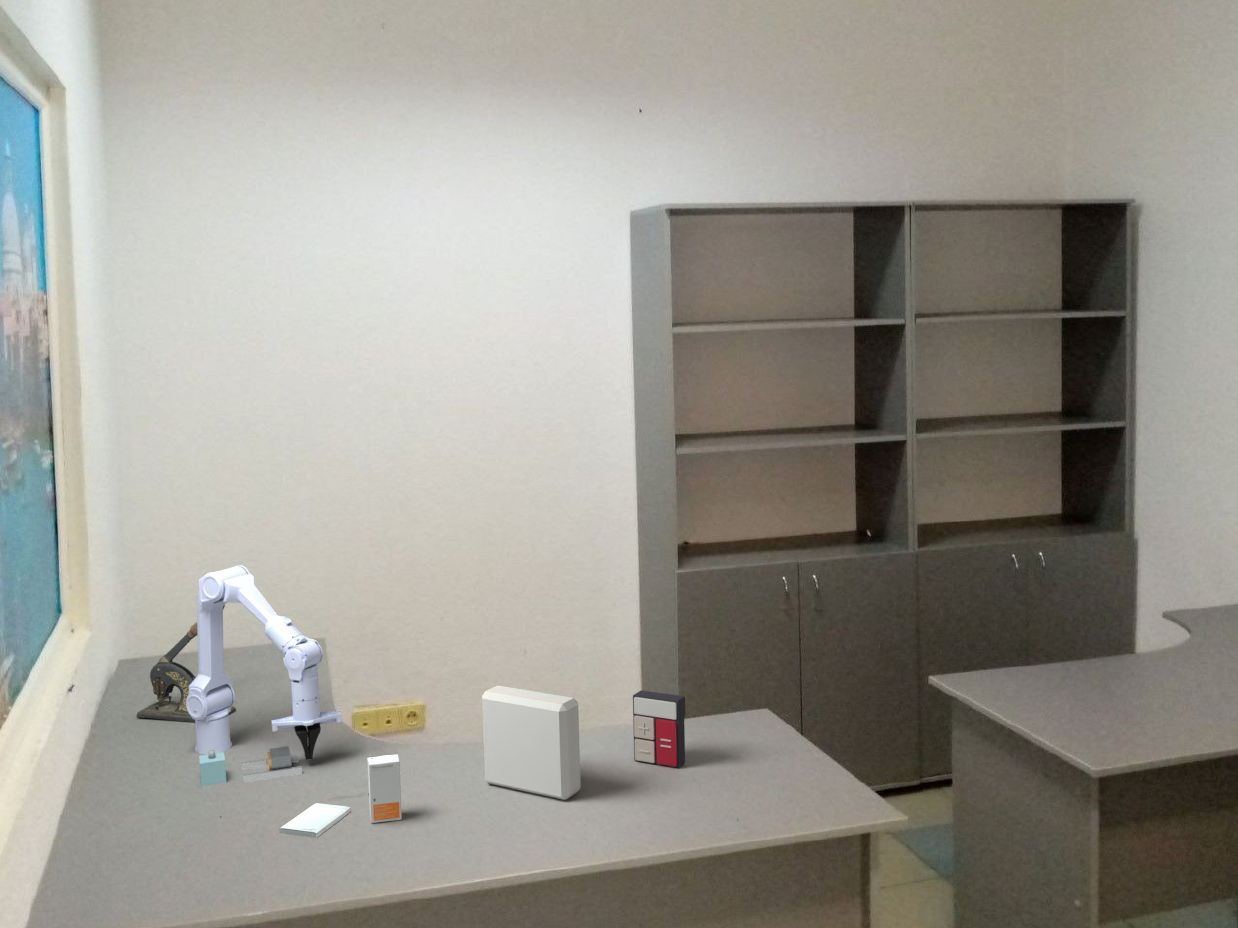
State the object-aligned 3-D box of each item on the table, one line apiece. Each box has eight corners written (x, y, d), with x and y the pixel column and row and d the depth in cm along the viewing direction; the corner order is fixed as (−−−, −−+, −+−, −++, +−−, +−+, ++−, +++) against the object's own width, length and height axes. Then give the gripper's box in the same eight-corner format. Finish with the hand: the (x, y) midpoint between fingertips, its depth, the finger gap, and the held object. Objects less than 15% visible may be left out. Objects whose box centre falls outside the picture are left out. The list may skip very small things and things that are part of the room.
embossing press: (162, 705, 305) (154, 591, 302) (242, 711, 299) (235, 595, 295) (134, 719, 295) (125, 601, 291) (216, 725, 288) (208, 605, 285)
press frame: (192, 778, 254) (191, 766, 254) (297, 762, 262) (296, 751, 261) (193, 798, 243) (192, 786, 243) (303, 781, 251) (302, 769, 250)
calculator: (632, 762, 257) (630, 695, 256) (641, 755, 261) (639, 689, 259) (678, 769, 252) (676, 701, 251) (686, 763, 256) (685, 695, 254)
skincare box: (371, 824, 228) (368, 764, 227) (369, 815, 232) (366, 756, 231) (402, 820, 230) (400, 760, 228) (400, 811, 234) (398, 753, 232)
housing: (200, 778, 251) (198, 748, 251) (225, 774, 253) (223, 745, 252) (201, 786, 247) (199, 756, 246) (226, 782, 248) (224, 752, 248)
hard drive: (316, 832, 223) (350, 806, 234) (278, 827, 225) (314, 801, 237) (316, 840, 223) (351, 814, 235) (279, 835, 225) (314, 809, 237)
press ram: (267, 766, 257) (266, 748, 256) (289, 763, 258) (288, 745, 258) (269, 776, 251) (268, 758, 250) (292, 772, 253) (290, 754, 252)
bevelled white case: (587, 789, 243) (584, 695, 240) (565, 803, 236) (563, 706, 234) (504, 772, 253) (500, 681, 251) (481, 784, 247) (477, 691, 244)
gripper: (272, 707, 249) (275, 769, 250) (342, 697, 254) (345, 758, 255) (269, 697, 255) (273, 758, 257) (337, 688, 260) (340, 748, 262)
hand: (308, 757), depth 257 cm, fingers closed
